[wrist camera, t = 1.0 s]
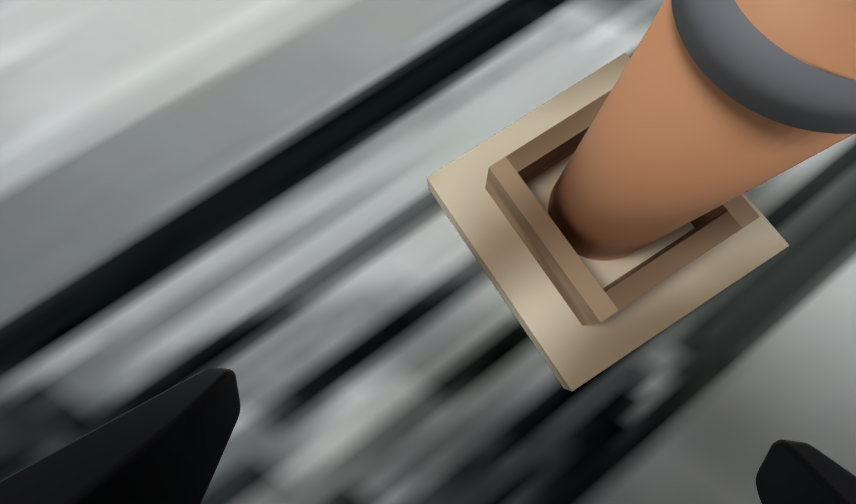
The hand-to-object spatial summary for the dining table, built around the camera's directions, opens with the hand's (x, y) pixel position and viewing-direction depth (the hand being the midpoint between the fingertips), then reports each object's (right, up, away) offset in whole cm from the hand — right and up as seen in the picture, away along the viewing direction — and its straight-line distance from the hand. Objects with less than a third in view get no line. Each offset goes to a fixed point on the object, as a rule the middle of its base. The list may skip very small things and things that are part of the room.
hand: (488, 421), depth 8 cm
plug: (+6, +5, +12) cm, 15 cm away
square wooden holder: (+7, +4, +14) cm, 16 cm away
